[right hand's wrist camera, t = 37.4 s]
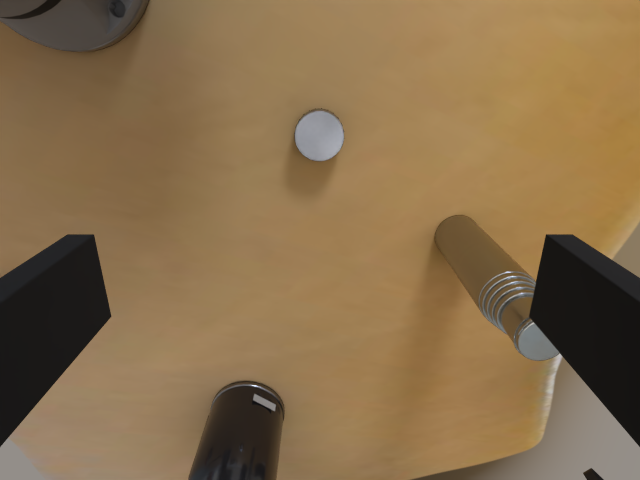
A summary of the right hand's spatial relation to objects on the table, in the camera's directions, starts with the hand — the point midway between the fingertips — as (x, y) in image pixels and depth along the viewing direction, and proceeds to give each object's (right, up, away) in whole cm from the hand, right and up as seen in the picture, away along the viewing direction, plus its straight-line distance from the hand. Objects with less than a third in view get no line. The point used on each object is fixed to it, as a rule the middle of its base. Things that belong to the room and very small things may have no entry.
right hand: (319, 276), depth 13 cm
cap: (0, +11, +28) cm, 30 cm away
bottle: (+15, +2, +34) cm, 37 cm away
